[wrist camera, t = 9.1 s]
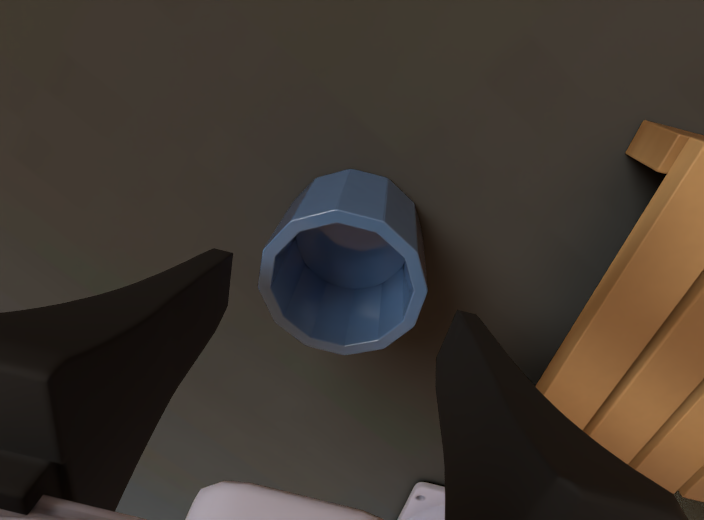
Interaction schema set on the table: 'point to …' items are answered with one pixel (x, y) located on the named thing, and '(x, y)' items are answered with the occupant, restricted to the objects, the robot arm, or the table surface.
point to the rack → (646, 329)
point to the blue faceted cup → (346, 264)
